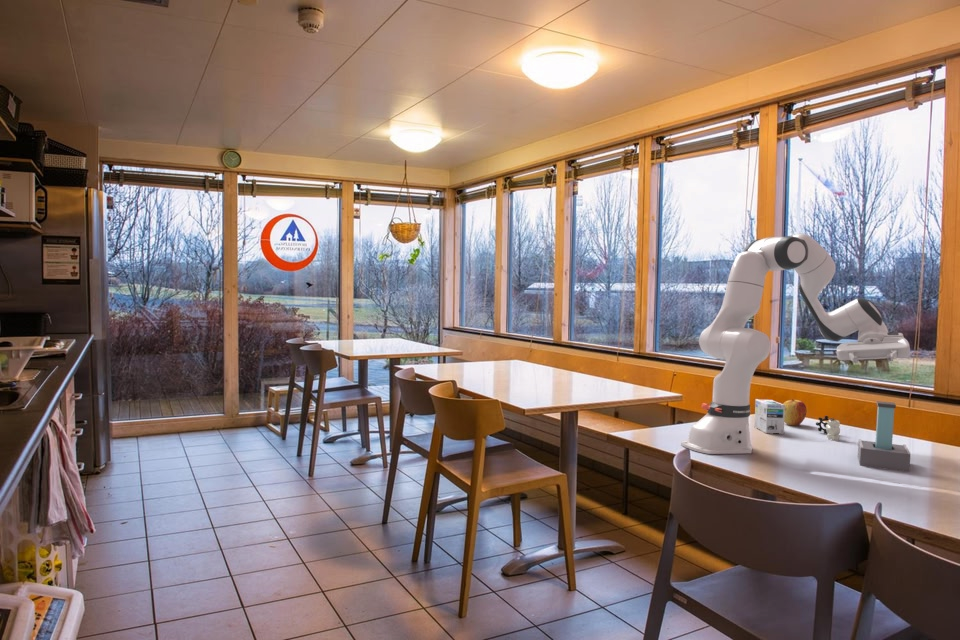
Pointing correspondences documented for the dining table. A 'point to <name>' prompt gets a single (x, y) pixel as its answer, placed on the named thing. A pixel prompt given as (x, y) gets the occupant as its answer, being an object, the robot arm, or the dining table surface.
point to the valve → (830, 427)
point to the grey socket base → (884, 456)
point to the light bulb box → (769, 416)
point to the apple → (794, 412)
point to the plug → (884, 425)
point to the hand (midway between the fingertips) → (872, 359)
